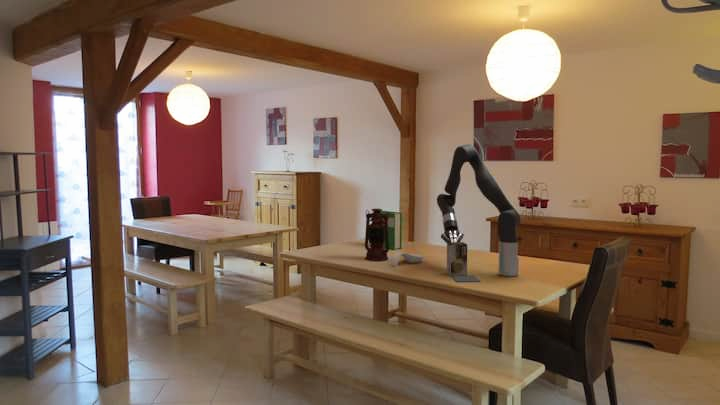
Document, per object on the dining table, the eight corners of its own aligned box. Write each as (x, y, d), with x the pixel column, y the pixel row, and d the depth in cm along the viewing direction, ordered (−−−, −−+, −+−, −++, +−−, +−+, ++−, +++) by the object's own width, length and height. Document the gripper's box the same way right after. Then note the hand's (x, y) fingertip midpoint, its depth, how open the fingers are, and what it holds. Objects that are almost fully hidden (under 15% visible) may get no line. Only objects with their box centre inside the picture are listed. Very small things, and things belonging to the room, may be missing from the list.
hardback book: (401, 248, 330) (401, 212, 327) (394, 250, 325) (394, 213, 322) (382, 245, 342) (382, 210, 340) (374, 246, 337) (374, 211, 335)
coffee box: (462, 272, 263) (463, 241, 261) (467, 275, 256) (468, 244, 255) (446, 272, 261) (446, 242, 260) (450, 275, 255) (451, 244, 253)
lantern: (358, 259, 296) (358, 209, 293) (371, 255, 307) (371, 207, 304) (382, 262, 286) (382, 210, 283) (395, 258, 297) (395, 208, 294)
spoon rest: (411, 259, 297) (411, 247, 297) (427, 262, 289) (427, 249, 289) (385, 265, 280) (385, 252, 280) (402, 268, 272) (402, 255, 272)
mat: (474, 276, 254) (474, 275, 254) (480, 281, 242) (480, 281, 242) (451, 276, 254) (451, 275, 254) (456, 282, 242) (456, 281, 242)
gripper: (439, 219, 272) (443, 245, 260) (463, 219, 272) (468, 245, 261) (437, 227, 277) (441, 253, 266) (460, 227, 278) (465, 253, 267)
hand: (454, 249), depth 264 cm, fingers closed
